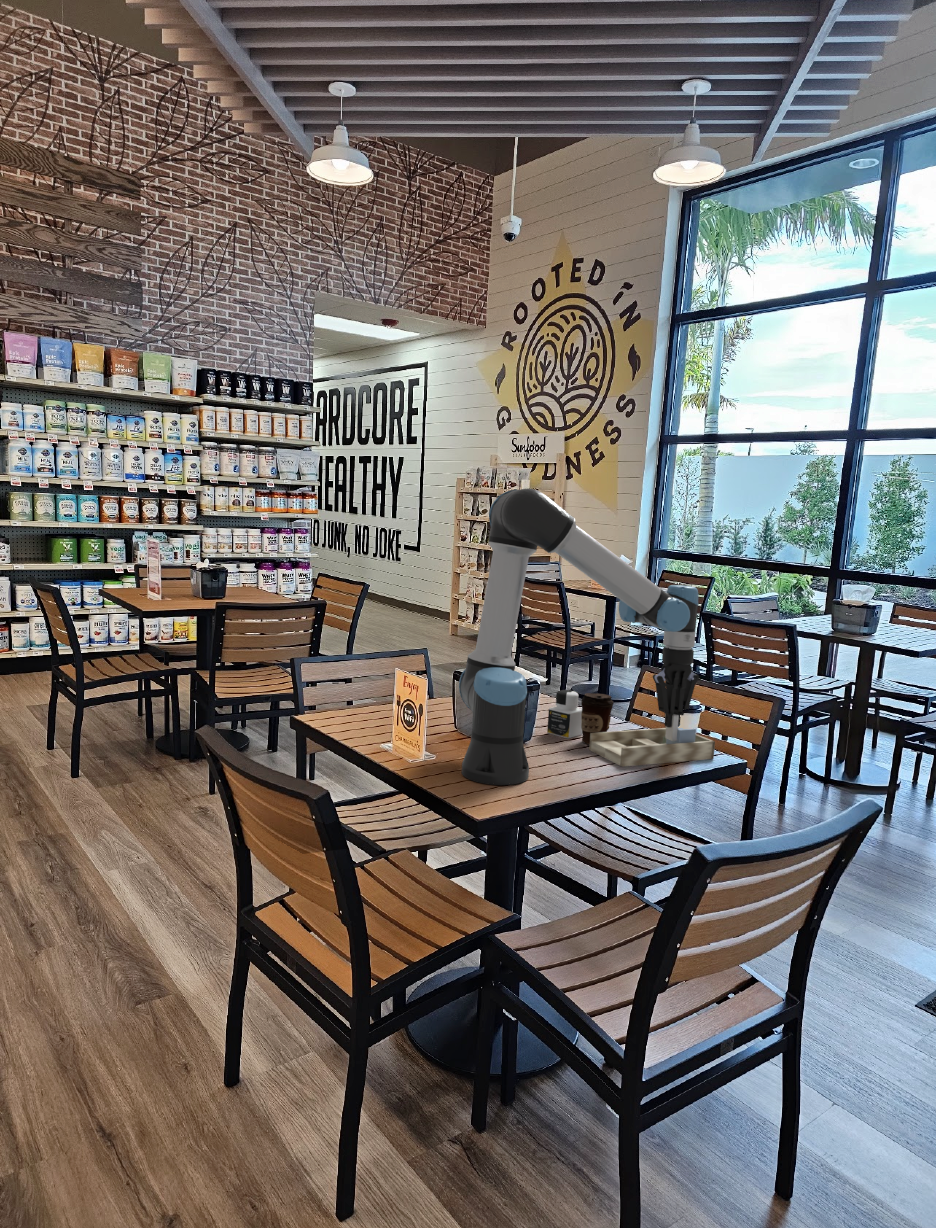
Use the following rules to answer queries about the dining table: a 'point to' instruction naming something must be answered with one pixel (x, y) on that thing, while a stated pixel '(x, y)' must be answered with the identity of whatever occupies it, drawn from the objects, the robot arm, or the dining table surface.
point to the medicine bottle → (565, 715)
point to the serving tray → (648, 747)
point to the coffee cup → (595, 714)
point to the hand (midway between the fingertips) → (670, 739)
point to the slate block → (684, 736)
